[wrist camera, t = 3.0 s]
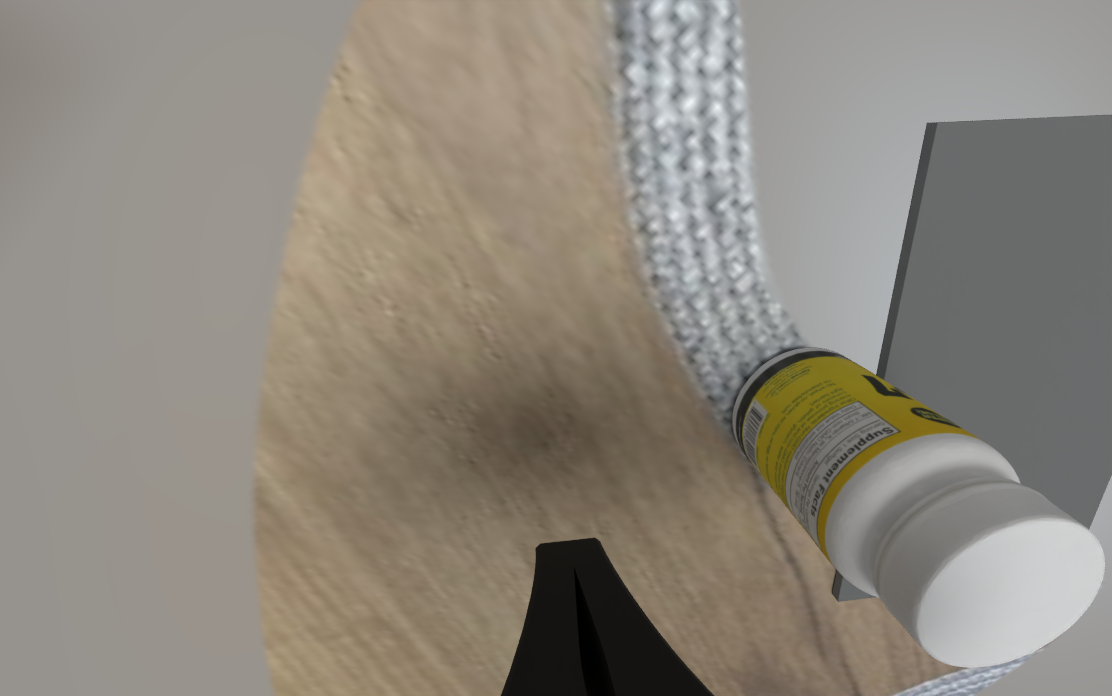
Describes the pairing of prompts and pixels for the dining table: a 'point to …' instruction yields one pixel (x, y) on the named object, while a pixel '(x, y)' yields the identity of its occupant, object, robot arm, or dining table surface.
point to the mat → (1012, 299)
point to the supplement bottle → (916, 510)
